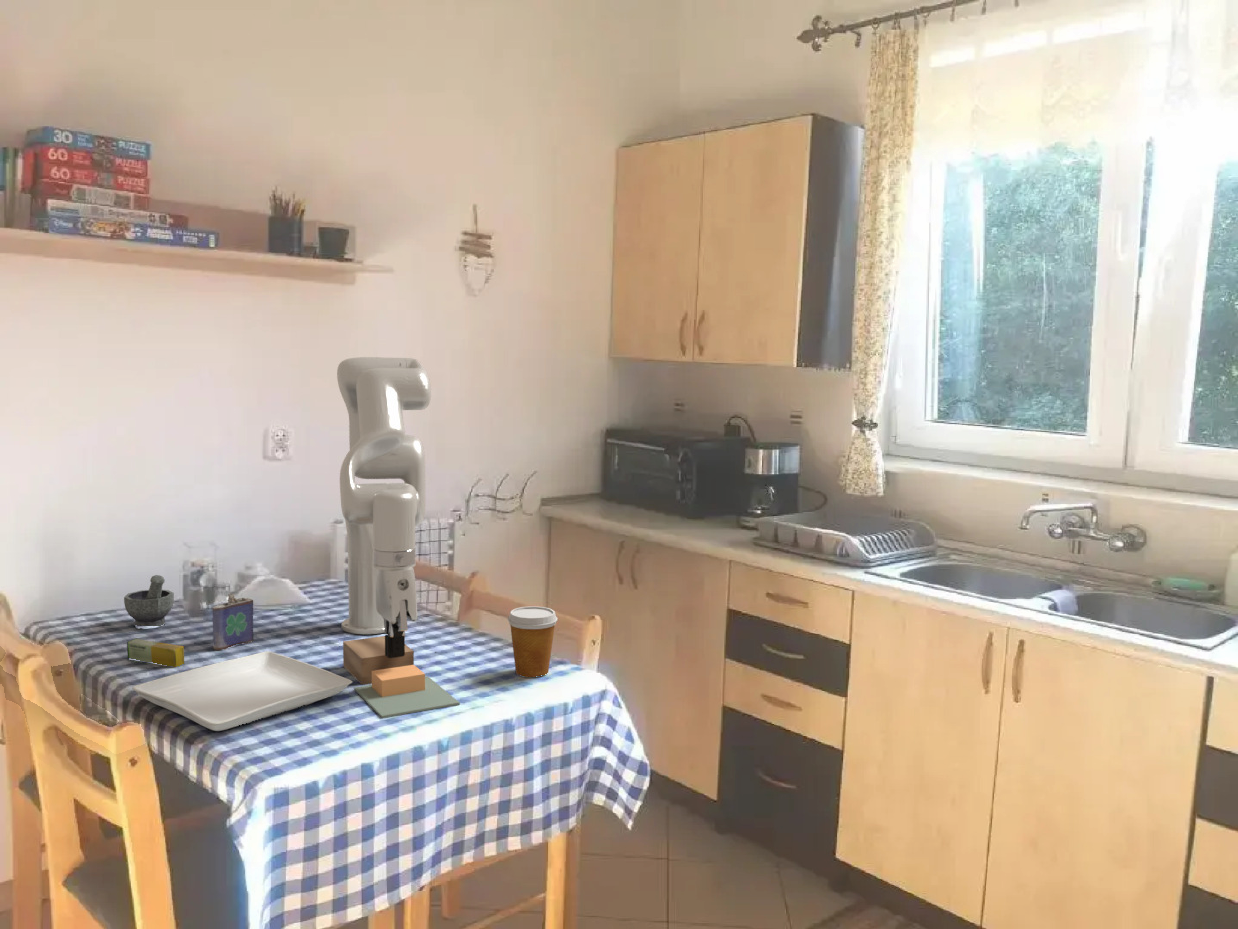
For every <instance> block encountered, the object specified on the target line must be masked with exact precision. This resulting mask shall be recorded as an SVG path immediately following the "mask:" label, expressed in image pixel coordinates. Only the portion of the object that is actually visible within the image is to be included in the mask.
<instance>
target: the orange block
mask: <svg viewBox="0 0 1238 929" xmlns="http://www.w3.org/2000/svg"><path fill="white" fill-rule="evenodd" d="M425 676H426V673H424V672H423V671H422V670H421V669H419V668H418V667H417V666H416V665H415V664H414V665H408V666H402V667H395V668H388V669H382V670H375V671H372V683H371V685H372V688H373V689H374V690H375V691H376V692H378V693H379V694H380V695H381V696H382V697H385V696H391V695H397V694H403V693H410V692H416V691H422V690H425Z"/></svg>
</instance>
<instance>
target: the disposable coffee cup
mask: <svg viewBox="0 0 1238 929" xmlns="http://www.w3.org/2000/svg"><path fill="white" fill-rule="evenodd" d="M507 621H508V623H509V625H510V635H511V642H512V651H513V652H512V653H513V658H514V659H513V660H514V667H515V673H516V675H518V676H519V675H521V676H520V677H522V676H524V677H523V678H529V677H533V678H537V677H536V676H541V675H545V674H547V673H548V674H549V668H550V662H551V655H552V648H553V642H554V641H553V640H554V634H555V626H556V624H557V622H558V616H556V611H555V610H553V609H552V608H549V607H546V606H535V605H534V606H533V605H532V606H521V607H516V608H514V609H511V611H510V612H509V616H508V617H507ZM548 674H547V675H548ZM545 676H546V675H545ZM541 677H542V676H541Z"/></svg>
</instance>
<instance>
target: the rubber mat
mask: <svg viewBox="0 0 1238 929" xmlns="http://www.w3.org/2000/svg"><path fill="white" fill-rule="evenodd" d="M353 688H354V691H355V692H356V693H357V694H358V695H359V697H361V698H362V700H364V702H366V704H368V705H369V706H370V708H371V709H372V710H373V711H374V712H375V713H376V714H377V715H378V716H379V717H380V718H381V719H385V718H390V717H391V718H392V717H397V716H402V715H409V714H413V713H420V711H421V712H425V711H426V712H427V711H431V710H437V709H438V710H439V709H442V708H449V707H455V706H458V705H459V706H460V705H461V704H460V701H459V700H457V699H456V698H455V697H453V695H451V694H450V693H448V691H446V690H445V689H444V688H443V687H441V686H440V685H439V684H438V683H436V682H435V681H434V680H433V679H432V678H431V677H429V675H425V690H422V691H416V692H410V693H403V694H397V695H391V696H385V697H382V696H381V695H380V694H379V693H378V692H376V691H375V690H374V689H373V688H372V684H369V685H368V684H366V685H362V686H361V685H360V686H357V687H356V686H355V687H353ZM454 705H455V706H454Z"/></svg>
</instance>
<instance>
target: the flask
mask: <svg viewBox="0 0 1238 929" xmlns="http://www.w3.org/2000/svg"><path fill="white" fill-rule="evenodd" d="M225 596H226V597H227V598H228V599H227V602H224V603H221V604H217V605H215V606H214V605H213V606H212V608H211V609H212V610H211V612H212V649H213V650H214V651H217V650H218V651H220V650H222V649H224V650H227V649H229V648H228V647H231V646H233V645H236V644H242V643H245V644H248V643H252V642H251V641H253V642H254V600H253V599H251V598H247V597H246V598H245V597H240V598H235V594H234V593H228V594H226V595H225ZM247 642H248V643H247ZM242 645H243V644H242ZM231 648H232V647H231Z"/></svg>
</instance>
